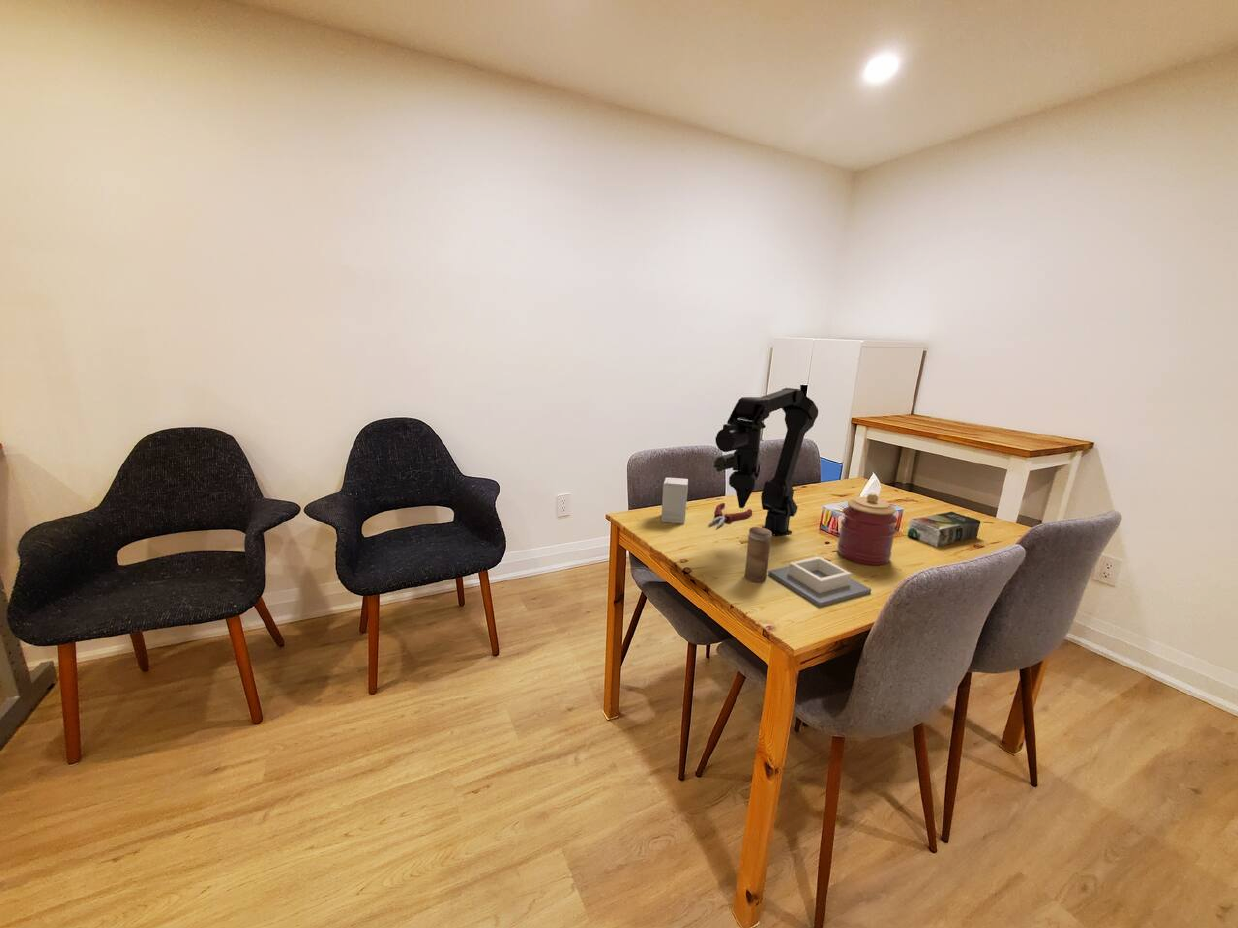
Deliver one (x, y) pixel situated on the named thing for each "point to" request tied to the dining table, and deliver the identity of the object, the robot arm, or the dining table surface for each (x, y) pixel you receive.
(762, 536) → the brown upright cylinder
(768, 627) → the dining table surface
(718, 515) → the pliers
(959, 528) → the juice carton
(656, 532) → the dining table surface
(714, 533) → the dining table surface
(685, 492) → the supplement box
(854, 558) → the canister
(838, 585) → the docking plate
